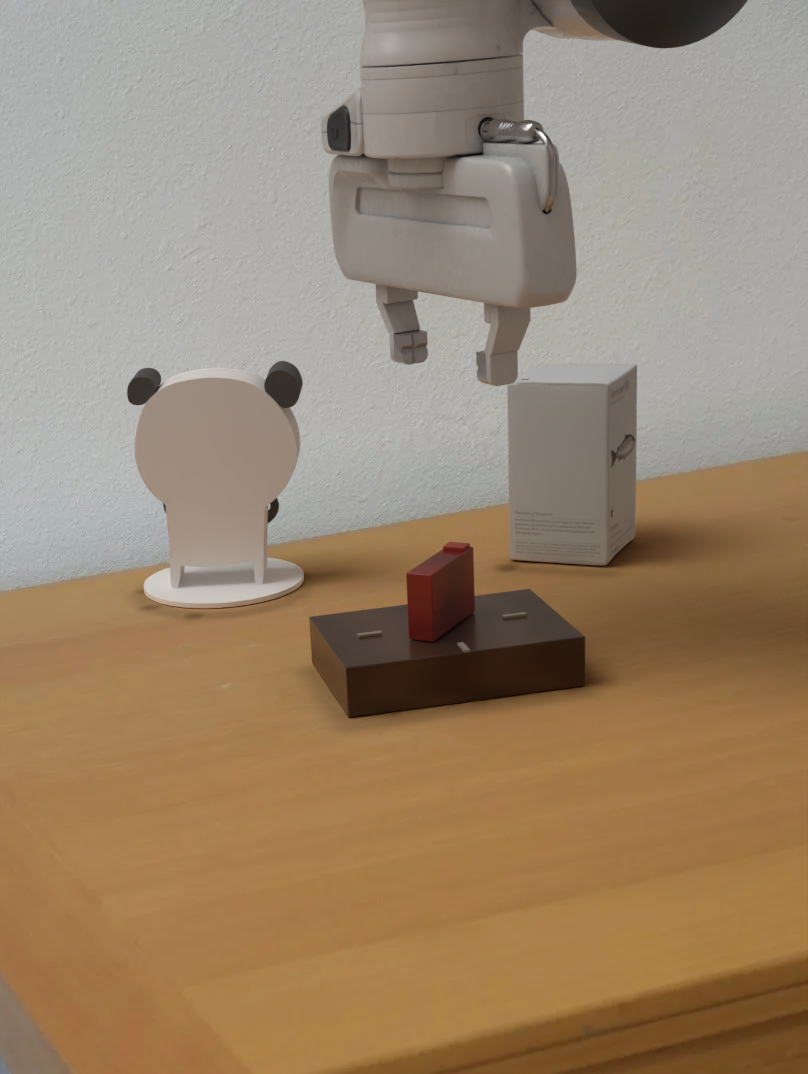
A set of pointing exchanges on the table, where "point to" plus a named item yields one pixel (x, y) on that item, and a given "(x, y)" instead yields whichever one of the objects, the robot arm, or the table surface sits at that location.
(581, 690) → the table surface
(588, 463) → the white packaging box
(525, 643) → the stamp base
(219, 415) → the panda figurine
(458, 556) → the red rectangular block
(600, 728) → the table surface
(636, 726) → the table surface
